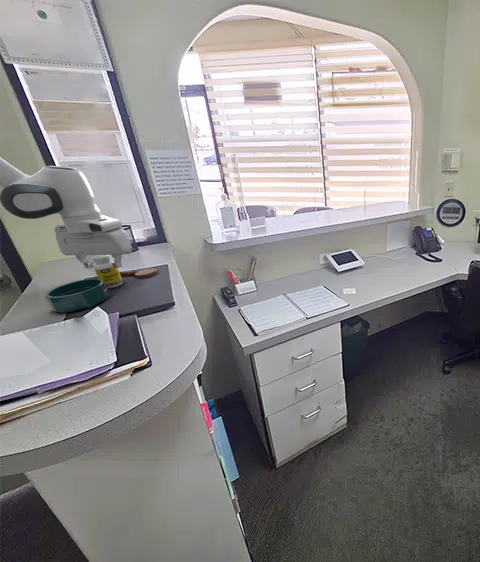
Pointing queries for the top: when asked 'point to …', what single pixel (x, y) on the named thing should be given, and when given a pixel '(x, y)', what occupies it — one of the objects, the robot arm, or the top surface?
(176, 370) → the top surface
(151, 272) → the spoon
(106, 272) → the supplement bottle
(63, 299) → the bowl
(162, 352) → the top surface
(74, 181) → the robot arm
